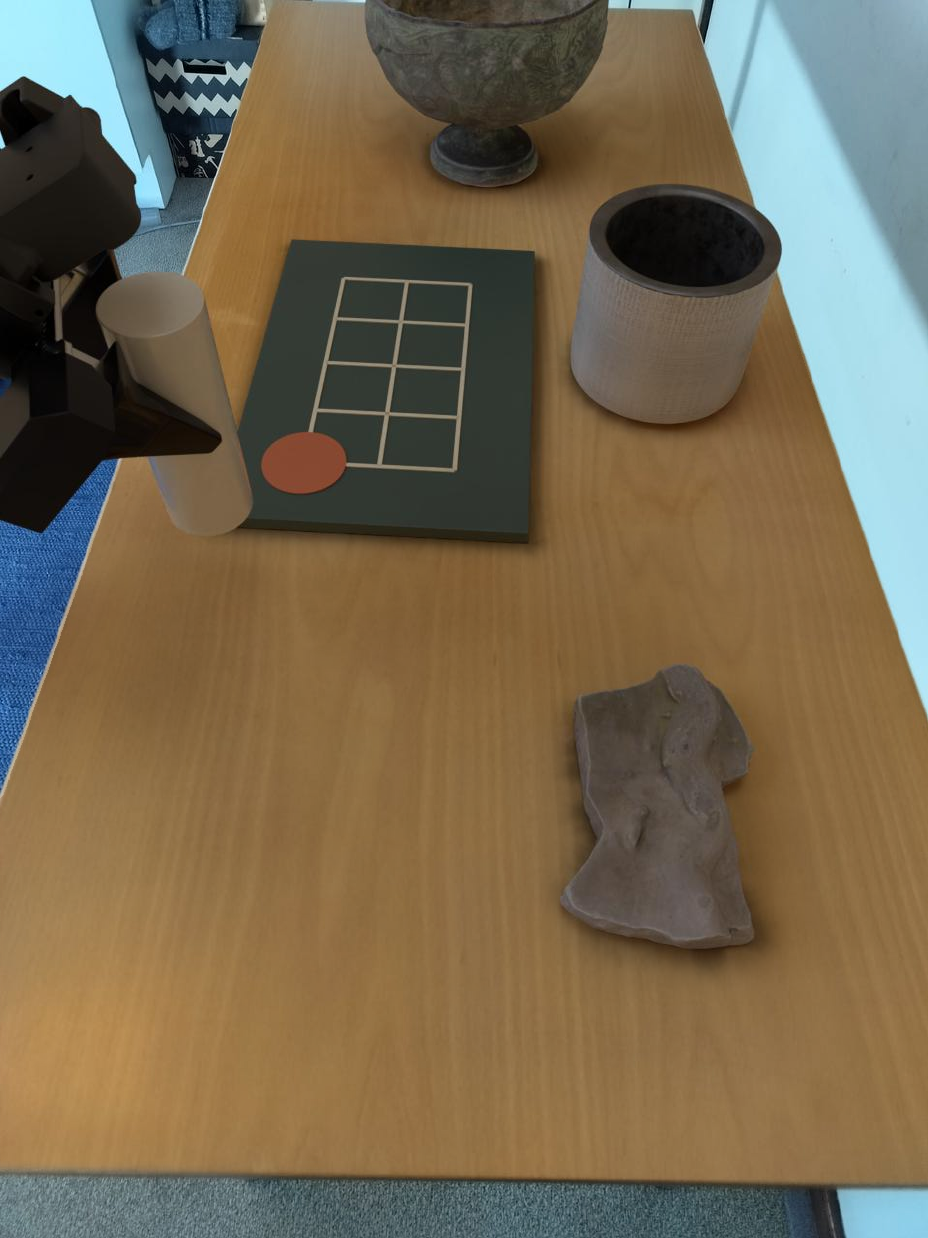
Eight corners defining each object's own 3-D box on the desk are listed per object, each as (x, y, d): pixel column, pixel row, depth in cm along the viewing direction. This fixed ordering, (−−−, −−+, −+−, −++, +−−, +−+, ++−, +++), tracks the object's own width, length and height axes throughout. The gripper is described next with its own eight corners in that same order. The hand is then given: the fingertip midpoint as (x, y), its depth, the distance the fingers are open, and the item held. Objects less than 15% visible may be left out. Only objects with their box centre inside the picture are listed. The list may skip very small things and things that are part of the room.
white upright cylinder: (194, 550, 48) (125, 351, 38) (152, 498, 50) (76, 295, 40) (269, 511, 50) (223, 309, 39) (226, 462, 52) (172, 257, 41)
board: (216, 526, 59) (213, 514, 58) (292, 249, 76) (290, 237, 75) (527, 543, 58) (529, 531, 58) (534, 261, 75) (535, 248, 75)
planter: (760, 425, 65) (812, 289, 56) (586, 438, 64) (610, 302, 55) (711, 313, 72) (751, 176, 63) (554, 323, 71) (571, 185, 62)
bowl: (590, 108, 90) (613, -74, 77) (588, 221, 79) (614, 30, 66) (390, 96, 90) (381, -87, 78) (360, 206, 80) (345, 14, 67)
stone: (758, 971, 44) (783, 948, 40) (556, 945, 44) (565, 920, 41) (742, 703, 52) (762, 665, 49) (573, 684, 53) (581, 645, 49)
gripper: (-67, 211, 25) (355, 436, 36) (-44, -57, 35) (281, 182, 46) (-212, 463, 30) (196, 593, 41) (-155, 166, 41) (160, 334, 52)
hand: (211, 410), depth 45 cm, fingers closed on white upright cylinder, 4 cm apart
